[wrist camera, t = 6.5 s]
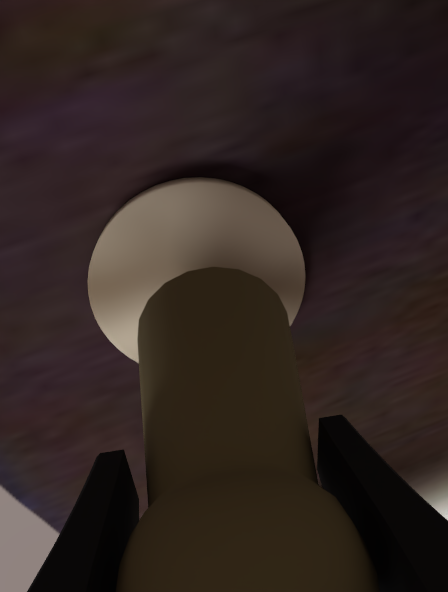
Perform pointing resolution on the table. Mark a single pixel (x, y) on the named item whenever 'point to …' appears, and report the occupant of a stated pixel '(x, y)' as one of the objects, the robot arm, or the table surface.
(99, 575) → the robot arm
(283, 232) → the coaster
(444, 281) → the table surface
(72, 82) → the table surface
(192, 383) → the cork
